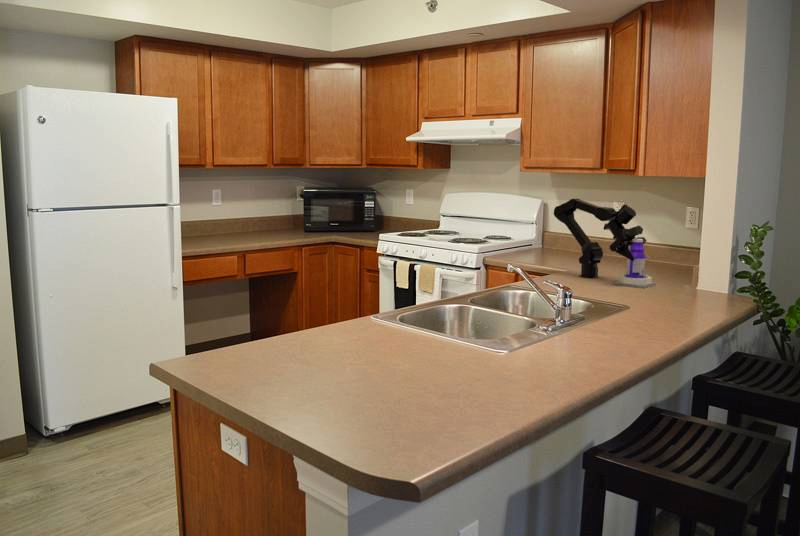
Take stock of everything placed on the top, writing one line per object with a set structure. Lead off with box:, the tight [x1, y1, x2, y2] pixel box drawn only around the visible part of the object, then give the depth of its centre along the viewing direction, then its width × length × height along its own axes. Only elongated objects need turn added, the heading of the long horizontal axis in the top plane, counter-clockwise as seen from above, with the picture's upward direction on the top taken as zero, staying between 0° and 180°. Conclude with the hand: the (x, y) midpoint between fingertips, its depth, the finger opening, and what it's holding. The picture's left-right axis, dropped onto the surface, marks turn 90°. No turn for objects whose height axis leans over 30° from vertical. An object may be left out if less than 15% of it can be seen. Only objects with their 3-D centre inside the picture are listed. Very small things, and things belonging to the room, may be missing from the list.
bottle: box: [625, 237, 646, 278], centre depth 286 cm, size 7×6×17 cm
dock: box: [613, 273, 657, 289], centre depth 287 cm, size 13×13×4 cm
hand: (639, 259), depth 284 cm, fingers closed on bottle, 7 cm apart
